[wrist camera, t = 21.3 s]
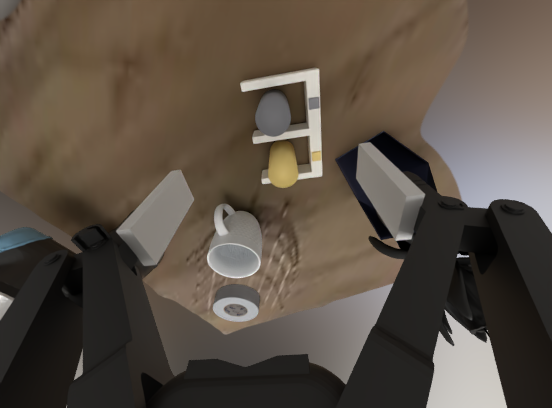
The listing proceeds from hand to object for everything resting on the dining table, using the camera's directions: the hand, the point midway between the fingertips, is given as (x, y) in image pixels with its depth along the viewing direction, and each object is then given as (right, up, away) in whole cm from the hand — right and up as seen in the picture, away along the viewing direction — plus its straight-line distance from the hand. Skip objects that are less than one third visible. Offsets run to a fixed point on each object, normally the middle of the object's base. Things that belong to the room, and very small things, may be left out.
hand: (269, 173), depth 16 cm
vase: (+20, +6, +29) cm, 35 cm away
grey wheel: (-13, -35, +58) cm, 69 cm away
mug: (-8, -6, +37) cm, 38 cm away
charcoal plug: (0, +15, +22) cm, 27 cm away
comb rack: (+3, +12, +24) cm, 27 cm away
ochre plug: (+2, +8, +27) cm, 28 cm away
